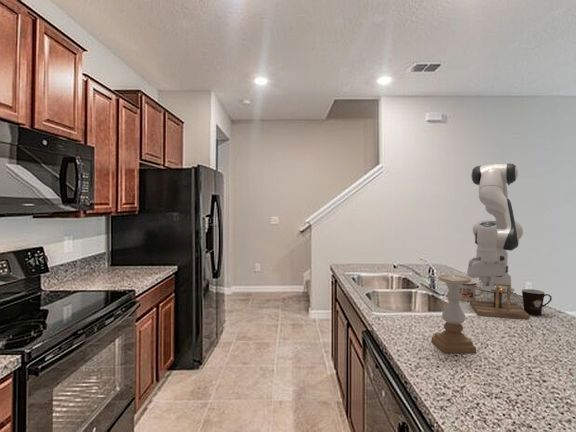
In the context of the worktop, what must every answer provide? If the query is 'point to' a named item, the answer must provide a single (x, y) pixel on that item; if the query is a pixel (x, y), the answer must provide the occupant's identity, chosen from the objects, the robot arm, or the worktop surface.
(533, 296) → the coffee mug
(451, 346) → the candle holder
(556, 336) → the worktop surface
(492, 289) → the grey rod with dome
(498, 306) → the stand
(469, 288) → the teacup with lid
